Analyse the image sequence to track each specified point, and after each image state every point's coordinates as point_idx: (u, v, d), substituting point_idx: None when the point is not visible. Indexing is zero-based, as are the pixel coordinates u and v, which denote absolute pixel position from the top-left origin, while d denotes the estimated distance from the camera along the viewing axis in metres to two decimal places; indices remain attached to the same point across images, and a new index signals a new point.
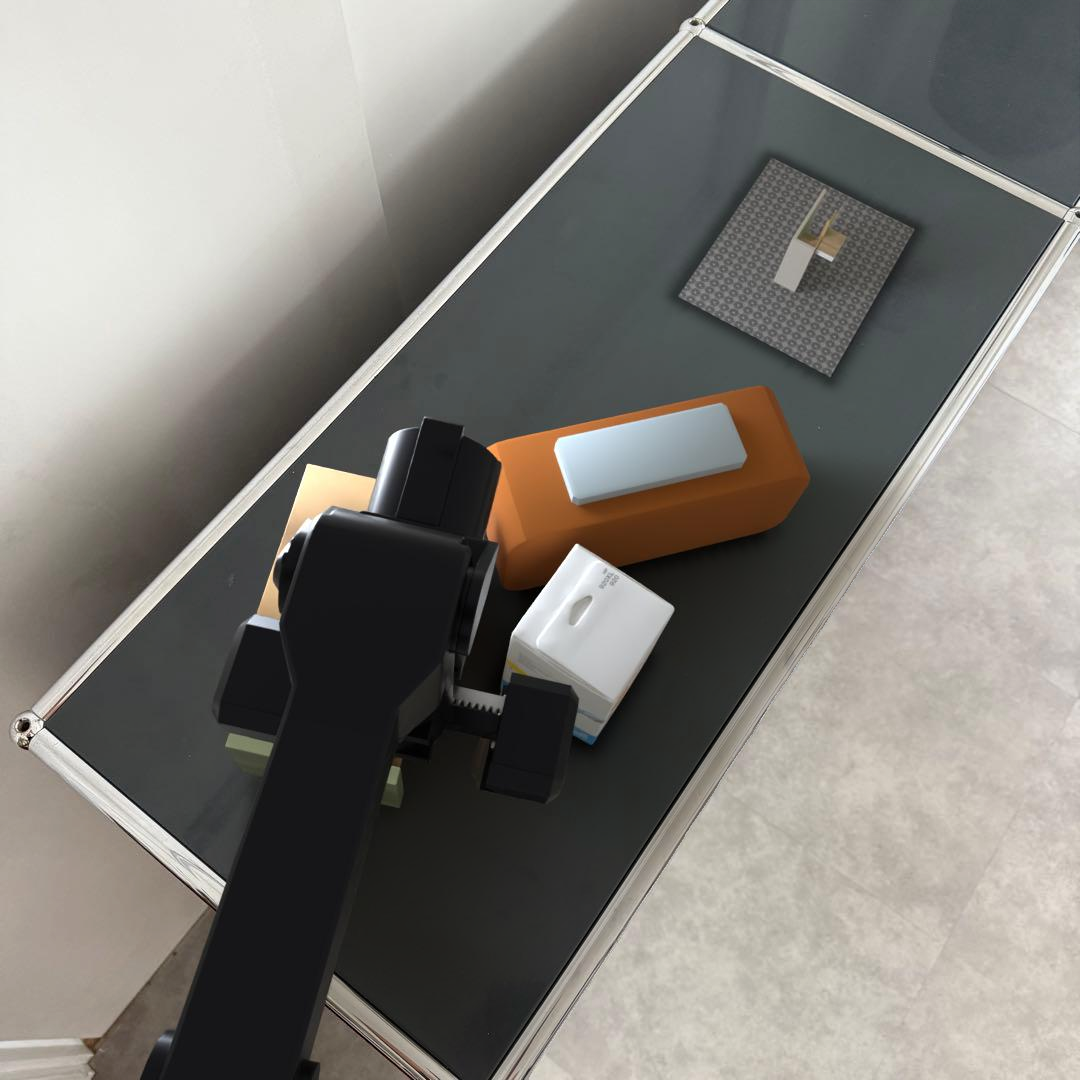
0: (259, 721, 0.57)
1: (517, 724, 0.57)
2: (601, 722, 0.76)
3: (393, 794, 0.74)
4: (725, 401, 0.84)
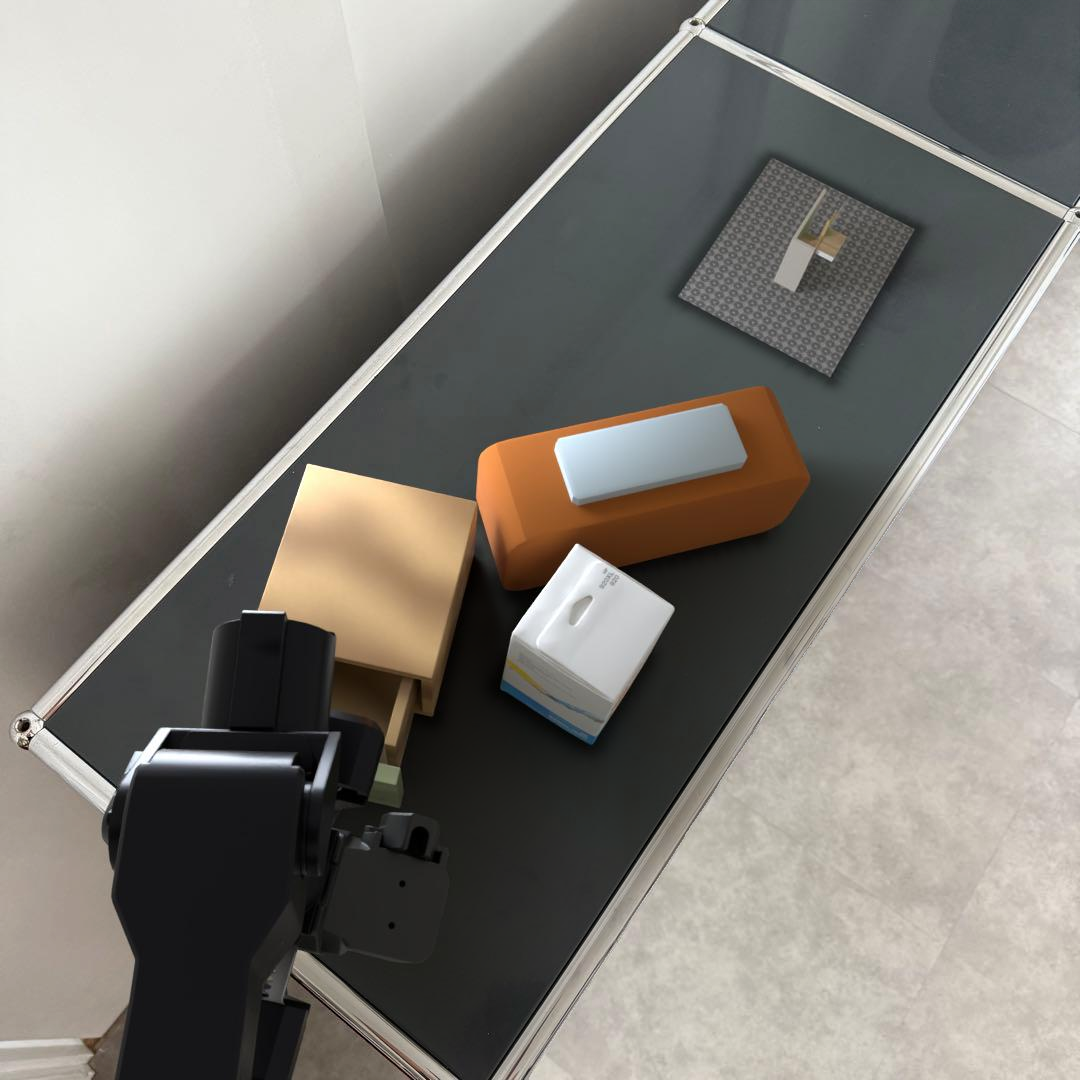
0: None
1: None
2: (601, 722, 0.76)
3: (393, 794, 0.74)
4: (725, 401, 0.84)
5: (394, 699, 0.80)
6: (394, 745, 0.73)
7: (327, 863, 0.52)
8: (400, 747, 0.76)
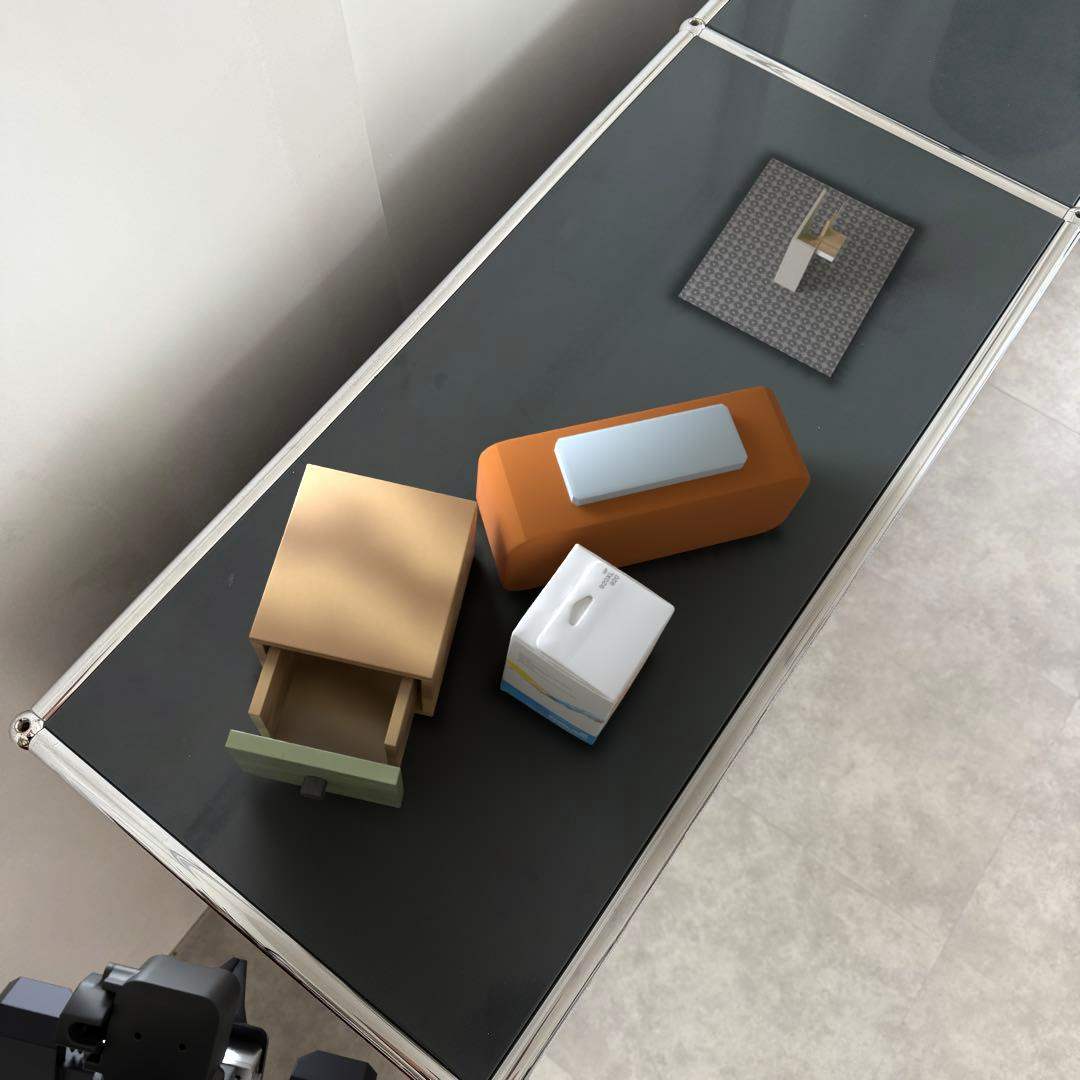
0: None
1: None
2: (601, 722, 0.76)
3: (393, 794, 0.74)
4: (725, 402, 0.84)
5: (394, 699, 0.80)
6: (394, 745, 0.73)
7: None
8: (400, 747, 0.76)
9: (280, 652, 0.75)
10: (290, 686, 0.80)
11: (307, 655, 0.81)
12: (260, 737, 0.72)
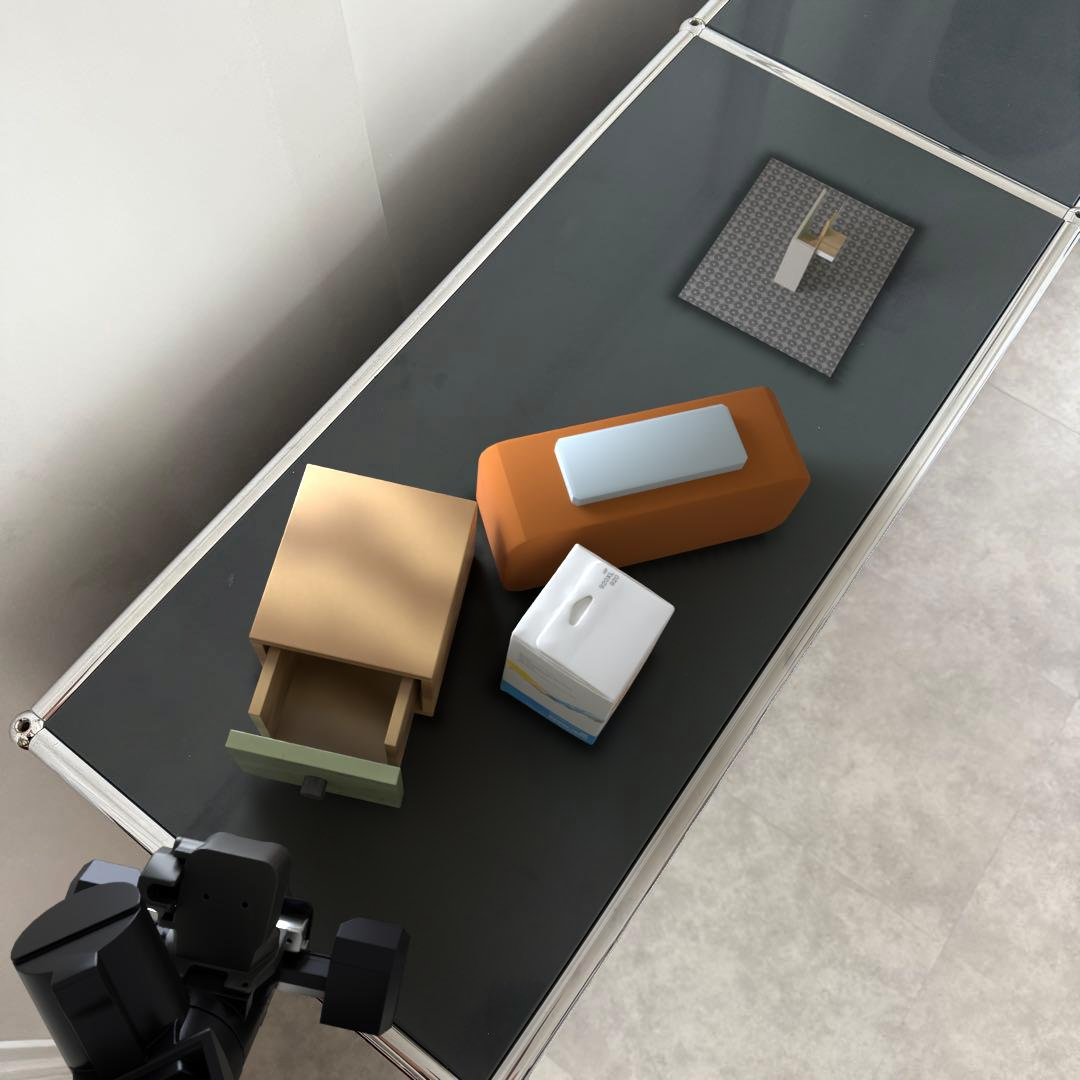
0: None
1: (341, 995, 0.60)
2: (601, 722, 0.76)
3: (393, 794, 0.74)
4: (726, 402, 0.84)
5: (394, 699, 0.80)
6: (394, 745, 0.73)
7: None
8: (400, 747, 0.76)
9: (280, 652, 0.75)
10: (290, 686, 0.80)
11: (307, 655, 0.81)
12: (260, 737, 0.72)
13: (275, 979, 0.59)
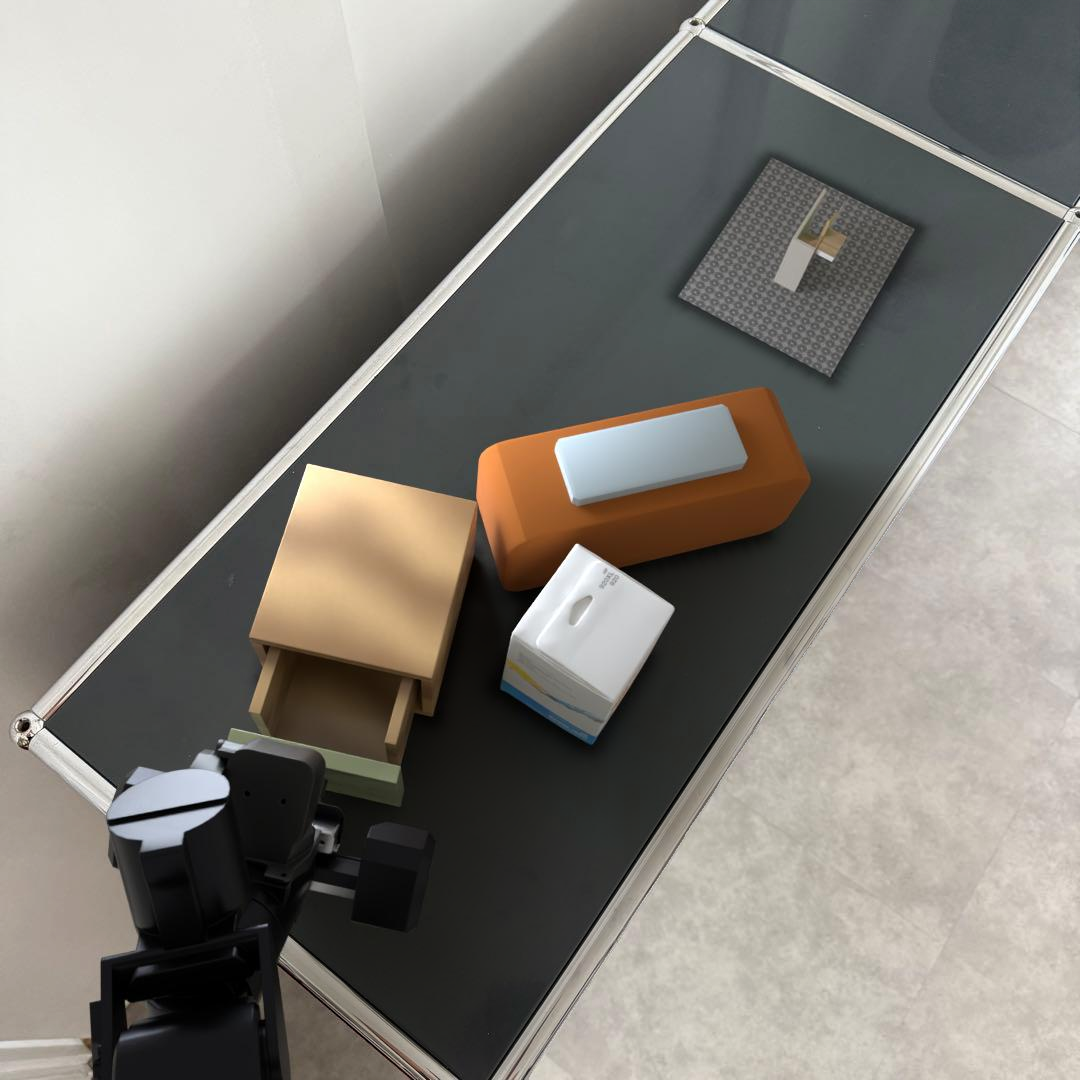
0: None
1: (371, 892, 0.63)
2: (601, 722, 0.76)
3: (393, 793, 0.74)
4: (726, 402, 0.84)
5: (394, 698, 0.80)
6: (394, 744, 0.73)
7: None
8: (400, 746, 0.76)
9: (280, 651, 0.75)
10: (290, 685, 0.80)
11: (307, 654, 0.81)
12: (260, 736, 0.72)
13: (309, 876, 0.63)
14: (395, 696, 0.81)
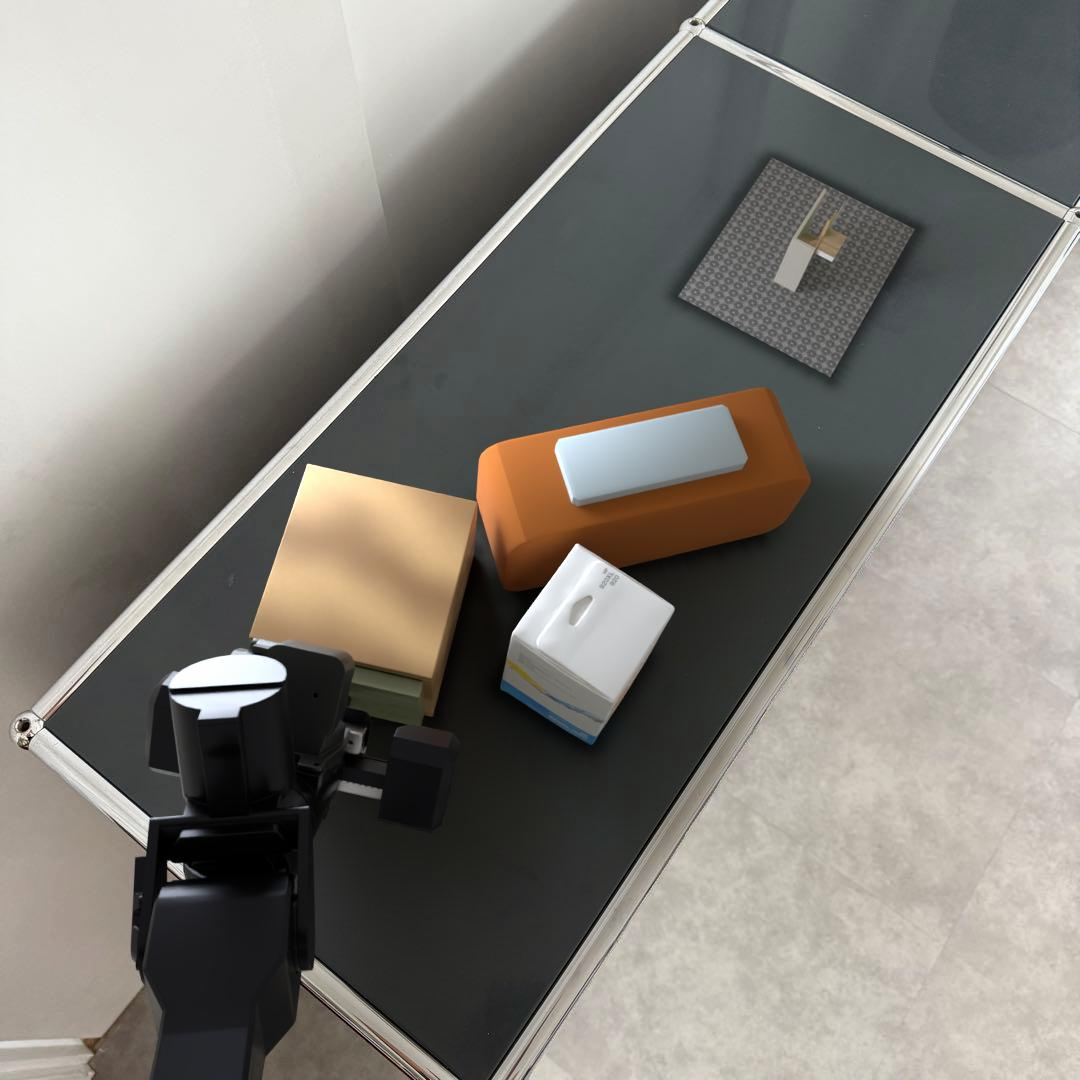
0: None
1: (398, 790, 0.66)
2: (601, 722, 0.76)
3: (415, 709, 0.77)
4: (726, 403, 0.84)
5: None
6: None
7: None
8: None
9: None
10: None
11: None
12: None
13: (339, 773, 0.65)
14: None
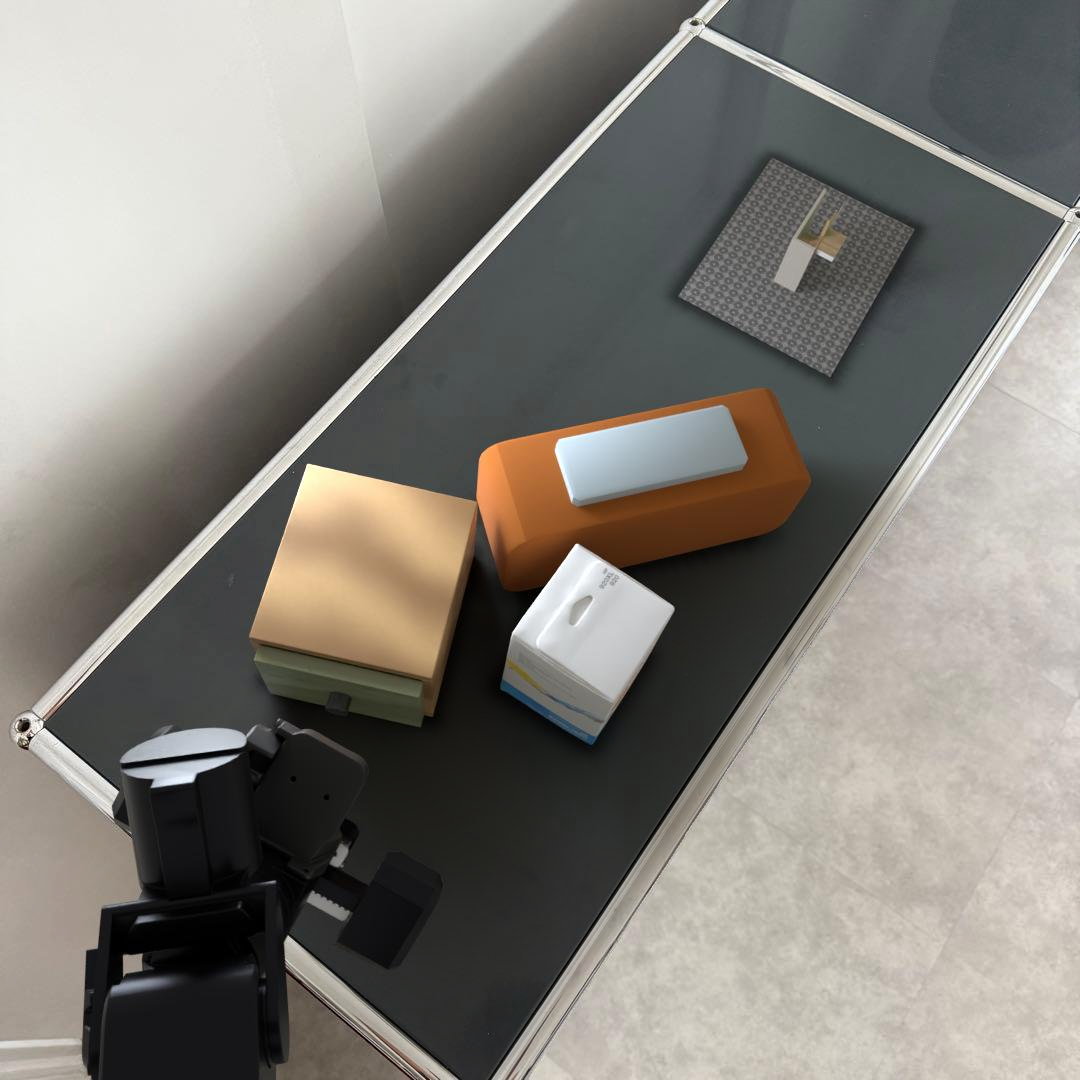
0: None
1: (369, 918, 0.62)
2: (601, 722, 0.76)
3: (415, 709, 0.77)
4: (726, 403, 0.84)
5: None
6: None
7: None
8: None
9: None
10: None
11: None
12: (287, 652, 0.74)
13: (315, 884, 0.61)
14: None
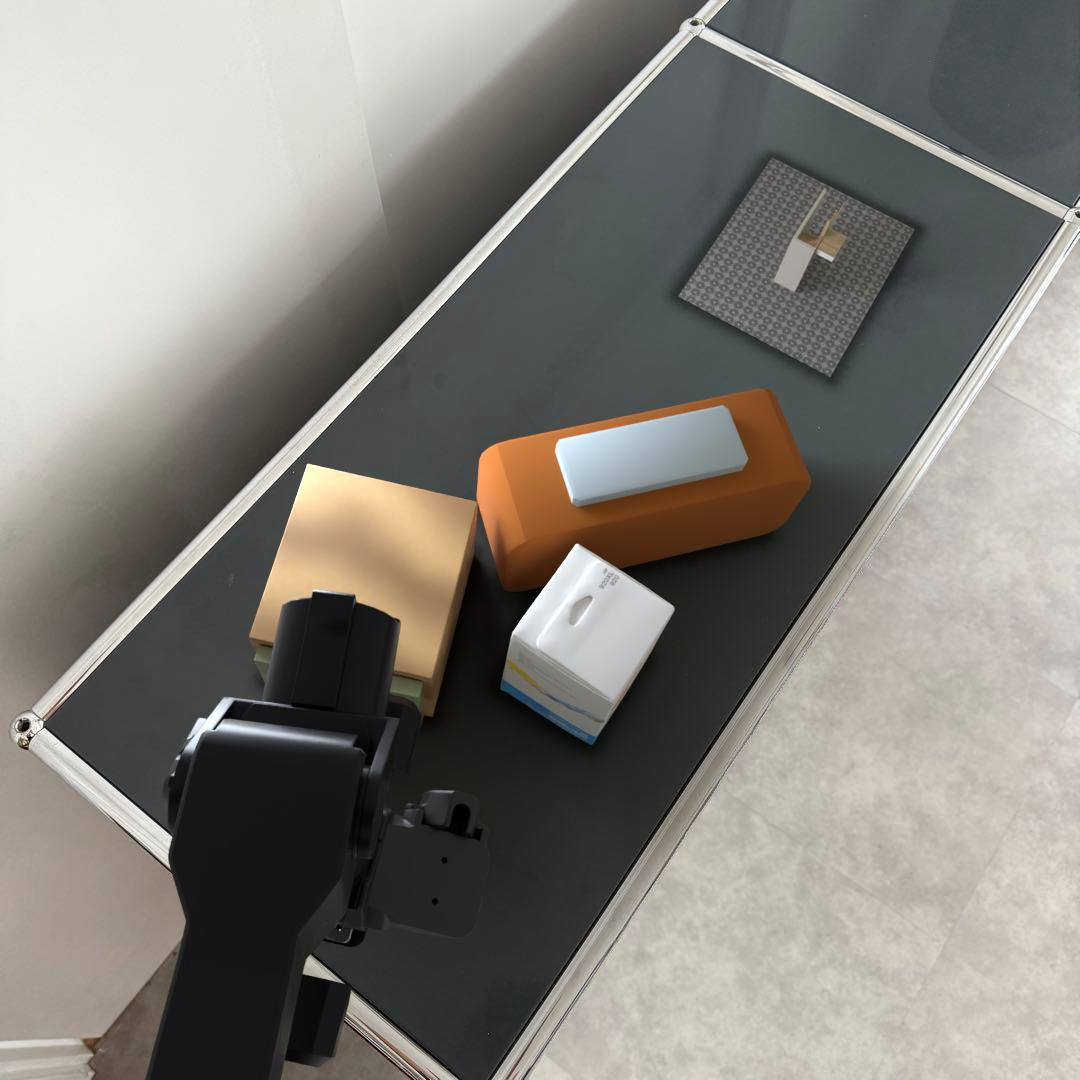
0: None
1: None
2: (601, 722, 0.76)
3: None
4: (727, 404, 0.84)
5: None
6: None
7: None
8: None
9: None
10: None
11: None
12: None
13: None
14: None
